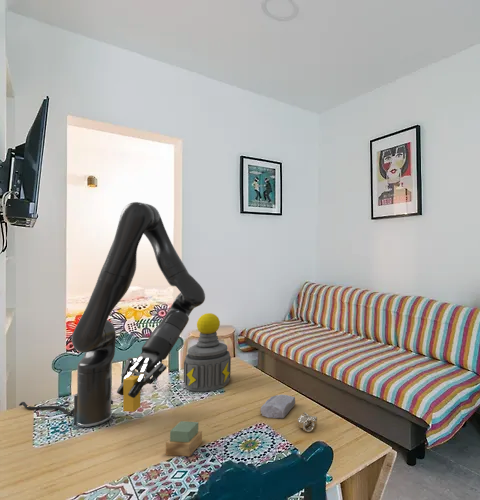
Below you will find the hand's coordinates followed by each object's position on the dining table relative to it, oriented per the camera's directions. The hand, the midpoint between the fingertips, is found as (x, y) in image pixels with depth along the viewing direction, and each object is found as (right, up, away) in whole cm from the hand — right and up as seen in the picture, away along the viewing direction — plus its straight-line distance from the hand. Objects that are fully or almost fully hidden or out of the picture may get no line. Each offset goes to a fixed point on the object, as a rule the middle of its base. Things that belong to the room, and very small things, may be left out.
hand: (125, 395), depth 97 cm
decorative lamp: (+2, -17, +51) cm, 54 cm away
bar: (+1, -5, +2) cm, 5 cm away
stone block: (+36, -18, +28) cm, 49 cm away
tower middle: (+15, -14, +4) cm, 20 cm away
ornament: (+49, -18, +17) cm, 55 cm away
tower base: (+14, -17, +4) cm, 23 cm away
